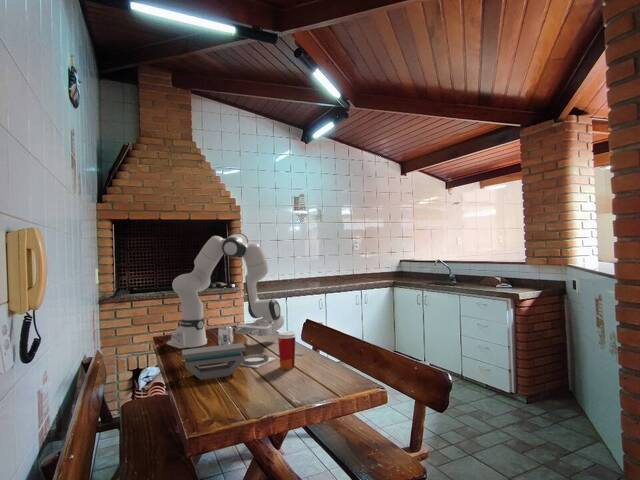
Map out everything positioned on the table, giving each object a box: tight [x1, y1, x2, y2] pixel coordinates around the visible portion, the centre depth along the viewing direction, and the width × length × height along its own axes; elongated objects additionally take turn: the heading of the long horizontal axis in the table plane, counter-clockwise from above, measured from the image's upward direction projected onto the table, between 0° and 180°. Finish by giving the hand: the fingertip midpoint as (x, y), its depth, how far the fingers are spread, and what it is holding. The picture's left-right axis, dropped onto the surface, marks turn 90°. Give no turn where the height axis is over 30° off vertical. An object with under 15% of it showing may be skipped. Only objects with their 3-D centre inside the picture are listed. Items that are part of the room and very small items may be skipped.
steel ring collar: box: [242, 353, 270, 365], centre depth 175 cm, size 12×12×1 cm
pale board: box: [239, 356, 278, 369], centre depth 175 cm, size 14×14×1 cm
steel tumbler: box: [217, 325, 234, 346], centre depth 180 cm, size 7×7×15 cm
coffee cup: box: [277, 330, 297, 371], centre depth 166 cm, size 8×8×15 cm
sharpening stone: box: [181, 342, 247, 381], centre depth 159 cm, size 25×8×11 cm, turn 112°
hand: (243, 332), depth 190 cm, fingers open, 8 cm apart
